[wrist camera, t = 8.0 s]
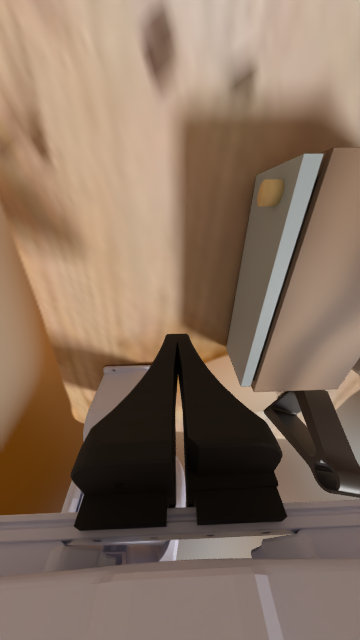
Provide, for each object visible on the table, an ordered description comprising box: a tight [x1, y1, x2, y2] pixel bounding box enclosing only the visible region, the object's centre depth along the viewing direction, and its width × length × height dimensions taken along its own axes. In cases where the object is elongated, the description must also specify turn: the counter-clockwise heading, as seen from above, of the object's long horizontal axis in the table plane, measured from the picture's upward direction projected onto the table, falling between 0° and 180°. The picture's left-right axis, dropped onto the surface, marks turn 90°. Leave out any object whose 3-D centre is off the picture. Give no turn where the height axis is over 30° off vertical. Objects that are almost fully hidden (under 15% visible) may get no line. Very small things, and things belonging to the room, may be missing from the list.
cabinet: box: [251, 147, 360, 392], centre depth 17 cm, size 9×19×6 cm, turn 1°
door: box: [226, 154, 323, 387], centre depth 16 cm, size 2×18×6 cm, turn 0°
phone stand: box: [264, 390, 360, 498], centre depth 26 cm, size 9×6×12 cm, turn 154°
